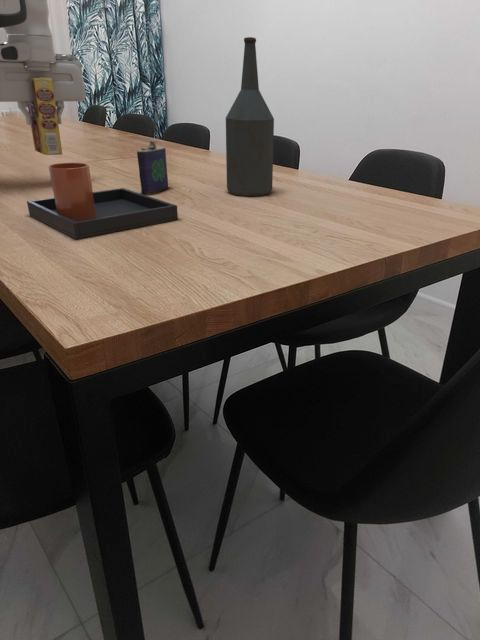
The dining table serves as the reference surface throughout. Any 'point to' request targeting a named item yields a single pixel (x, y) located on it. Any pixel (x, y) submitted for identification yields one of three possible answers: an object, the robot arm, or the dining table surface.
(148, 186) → the flask
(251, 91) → the bottle
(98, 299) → the dining table surface
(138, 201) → the tray
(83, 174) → the cup
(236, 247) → the dining table surface
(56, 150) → the candy box
